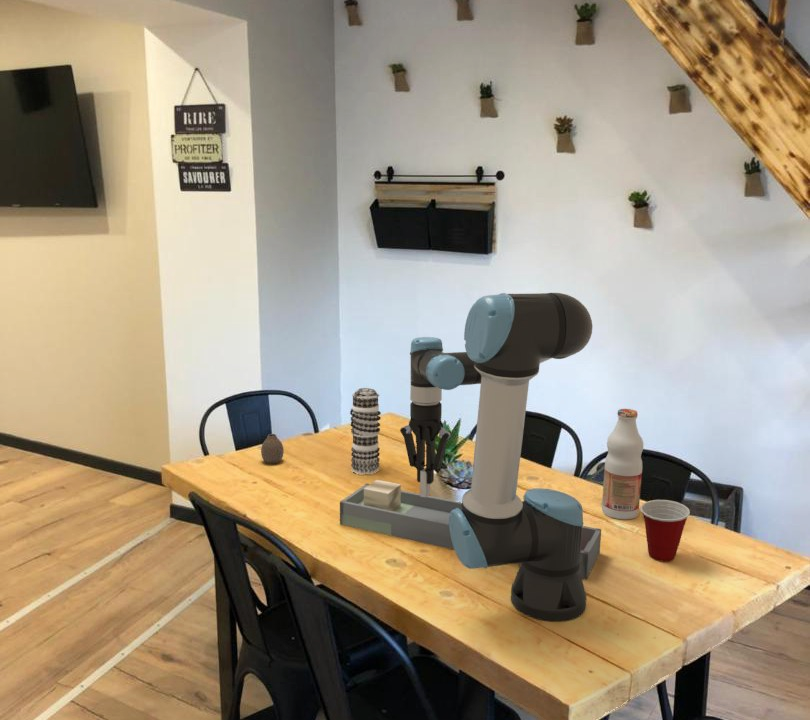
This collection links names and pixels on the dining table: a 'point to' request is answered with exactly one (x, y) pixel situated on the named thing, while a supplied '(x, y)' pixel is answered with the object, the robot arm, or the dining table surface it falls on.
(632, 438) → the fruit juice
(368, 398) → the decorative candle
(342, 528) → the dining table surface
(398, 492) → the beech block
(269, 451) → the vase
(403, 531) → the tray
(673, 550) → the plastic cup
